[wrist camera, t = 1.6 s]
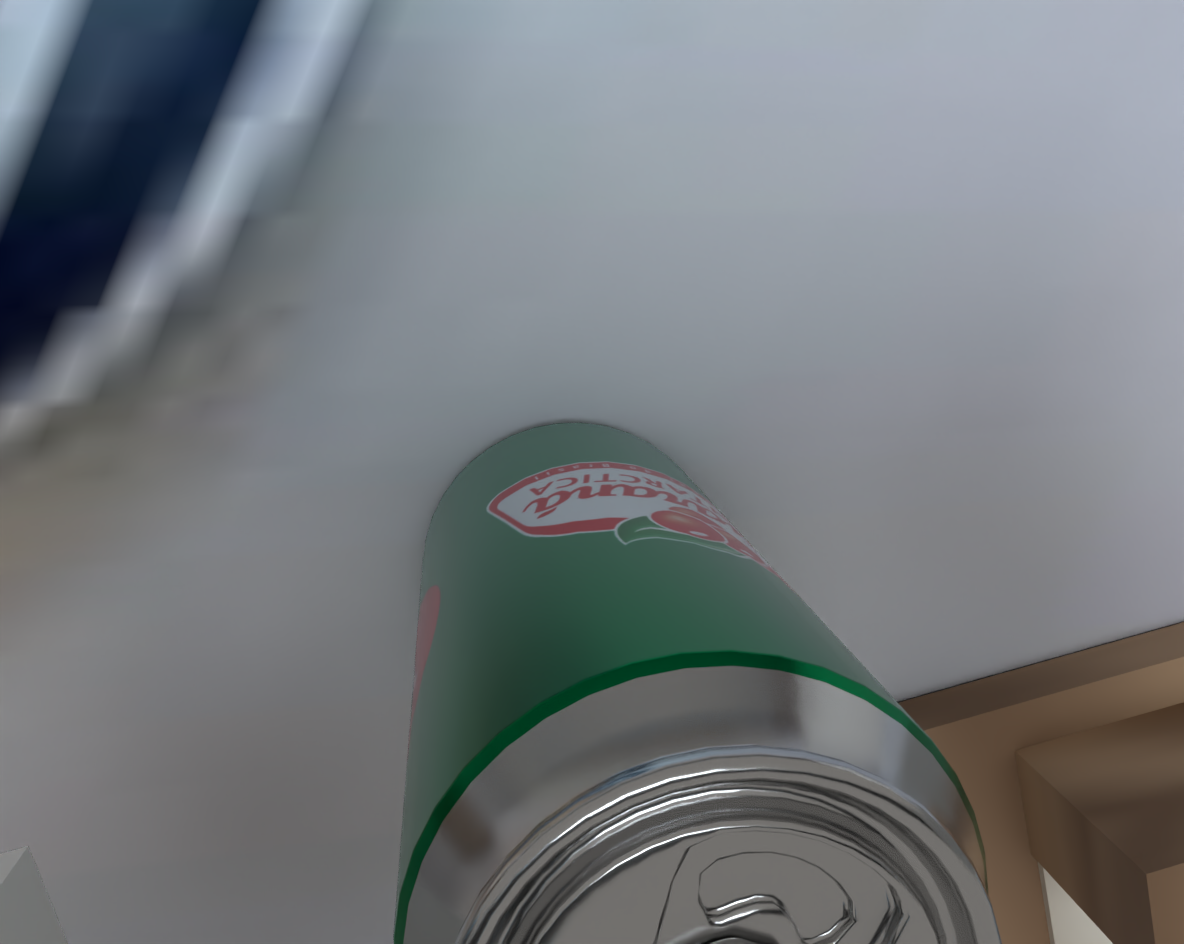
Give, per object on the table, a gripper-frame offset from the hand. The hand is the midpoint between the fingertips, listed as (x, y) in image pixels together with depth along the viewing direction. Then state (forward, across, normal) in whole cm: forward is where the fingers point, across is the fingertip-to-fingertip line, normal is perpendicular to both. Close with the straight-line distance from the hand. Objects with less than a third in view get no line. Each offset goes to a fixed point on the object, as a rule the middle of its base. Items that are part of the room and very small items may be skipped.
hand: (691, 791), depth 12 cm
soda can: (+9, -1, 0) cm, 9 cm away
